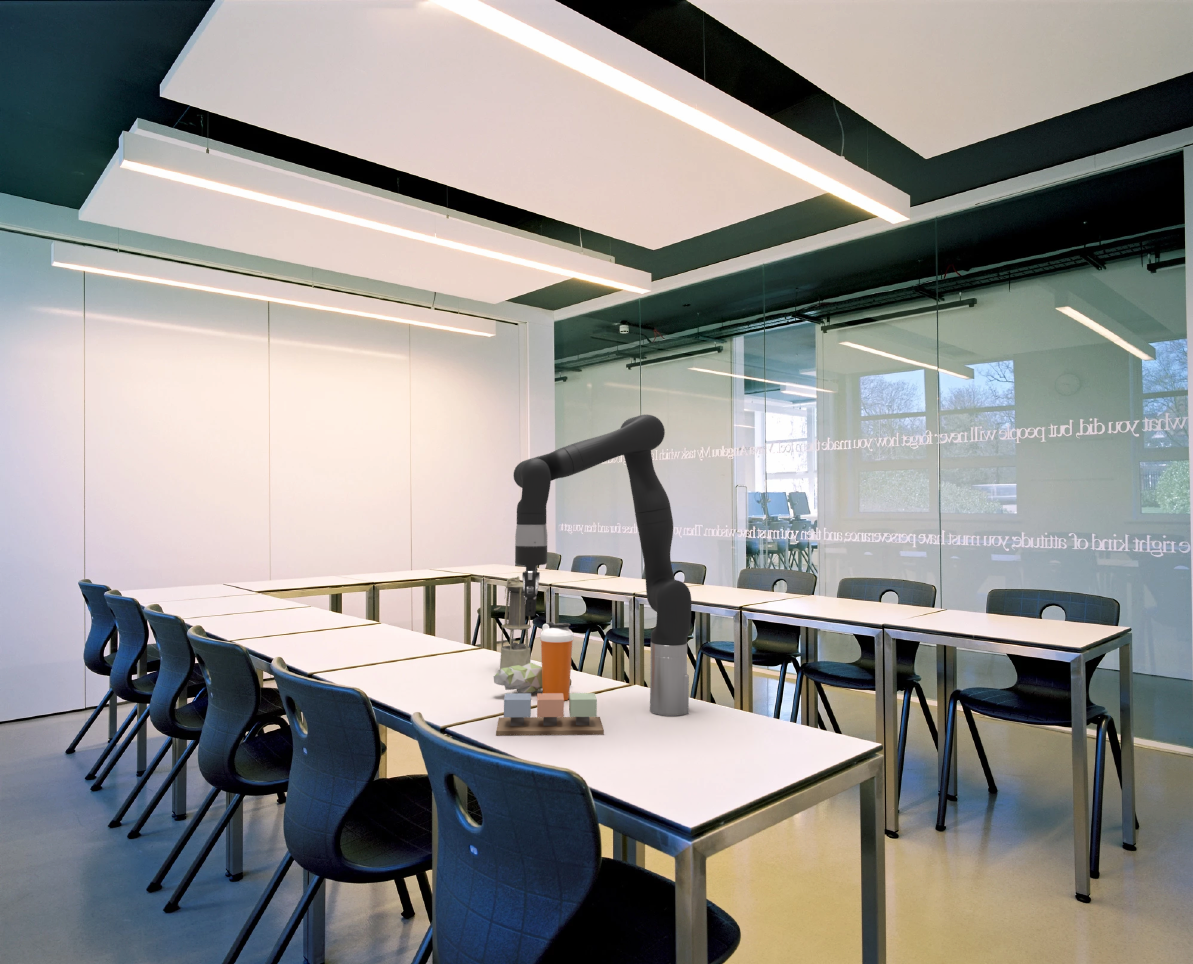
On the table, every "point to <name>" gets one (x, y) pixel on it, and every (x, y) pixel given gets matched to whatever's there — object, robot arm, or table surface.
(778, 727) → the table surface
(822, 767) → the table surface
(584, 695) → the button sage
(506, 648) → the lamp
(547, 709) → the button terracotta
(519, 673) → the decorative object
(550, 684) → the shaker bottle
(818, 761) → the table surface
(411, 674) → the table surface
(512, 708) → the button slate
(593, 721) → the board
